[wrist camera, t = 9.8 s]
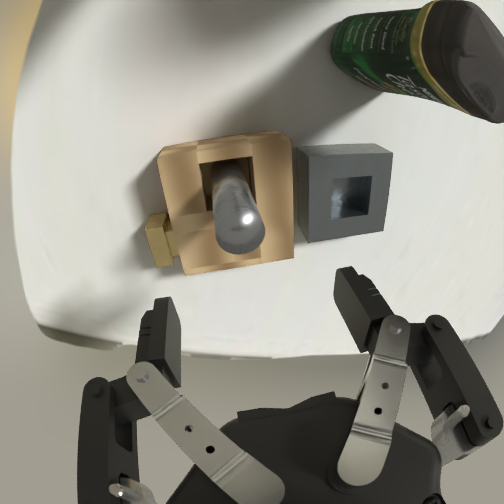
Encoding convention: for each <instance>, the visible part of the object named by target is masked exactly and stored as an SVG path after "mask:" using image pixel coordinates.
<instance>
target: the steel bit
mask: <svg viewBox="0 0 504 504" xmlns="http://www.w3.org/2000/svg"><path fill="white" fill-rule="evenodd" d="M210 177H211V190H212V202H213V213H214V225H215V235H216V241H217V243H218V245H219V246H220V247H221V248H222V249H223V250H224V251H226V252H228V253H231V254H236V255H241V254H247V253H249V252H252V251H253V250H255V249H256V248H258V247H259V246H260V244H261V243H262V242H263V240H264V237H265V226H264V223H263V221H262V218H261V216H260V213H259V211H258V208H257V206H256V203H255V201H254V198H253V196H252V193H251V191H250V189H249V186H248V184H247V181H246V179H245V177H244V174H243V172H242V169H241V167H240V165H239V163H238V162H237V161H236V160H235V159H234V158H233V159H226V160H219V161H214V162H213V164H212V165H211V168H210Z"/></svg>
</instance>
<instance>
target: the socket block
mask: <svg viewBox="0 0 504 504" xmlns="http://www.w3.org/2000/svg"><path fill="white" fill-rule="evenodd" d="M233 158H234V159H235V160H236V161H237V162H238V163H239V165H240V167H241V169H242V172H243V174H244V177H245V179H246V181H247V184H248V186H249V189H250V191H251V193H252V196H253V198H254V201H255V203H256V206H257V208H258V211H259V213H260V216H261V218H262V221H263V223H264V226H265V237H264V240H263V242H262V243H261V244H260V246H259V247H258V248H256V249H255V250H253V251H252V252H249V253H247V254H241V255H236V254H231V253H228V252H226V251H224V250H223V249H222V248H221V247H220V246H219V245H218V243H217V241H216V235H215V225H214V213H213V202H212V190H211V177H210V168H211V165H212V164H213V162H214V161H219V160H226V159H233ZM157 164H158V169H159V173H160V178H161V182H162V187H163V191H164V196H165V200H166V204H167V208H168V212H169V216H170V221H171V225H172V228H173V232H174V236H175V240H176V244H177V248H178V251H179V255H180V259H181V262H182V266H183V269H184V273H185V276H187V275H193V274H199V273H206V272H212V271H218V270H225V269H231V268H237V267H243V266H249V265H255V264H261V263H268V262H274V261H280V260H286V259H291V258H294V221H293V176H292V149H291V140H290V139H289V138H287V137H286V136H284V135H283V134H282V133H280V132H279V131H270V132H260V133H250V134H242V135H234V136H226V137H219V138H212V139H206V140H199V141H194V142H188V143H182V144H177V145H172V146H167V147H164V148H163V149H162V151H161V153H160V155H159V156H158V158H157Z"/></svg>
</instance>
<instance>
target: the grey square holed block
mask: <svg viewBox="0 0 504 504" xmlns="http://www.w3.org/2000/svg"><path fill="white" fill-rule="evenodd" d="M392 159H393V153H392V152H390V151H388V150H387V149H385V148H383V147H381V146H379V145H377V144H337V145H318V146H303V147H297V173H298V226H299V228H300V230H301V231H302V233H303V235H304V236H305V238H306V240H307V241H308V243H311V242H317V241H324V240H330V239H336V238H342V237H349V236H355V235H361V234H367V233H374V232H380V231H383V229H384V223H385V217H386V210H387V203H388V196H389V188H390V179H391V170H392Z"/></svg>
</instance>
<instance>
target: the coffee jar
mask: <svg viewBox="0 0 504 504" xmlns="http://www.w3.org/2000/svg"><path fill="white" fill-rule="evenodd" d="M331 55H332V58H333V60H334V62H335V64H336V65H337V66H338V67H339V68H340V69H341V70H343V71H344V72H346V73H347V74H348V75H350V76H351V77H353V78H355V79H356V80H358V81H360V82H361V83H363V84H365V85H367V86H369V87H371V88H373V89H376V90H378V91H382V92H388V93H395V94H403V95H409V96H414V97H419V98H423V99H428V100H432V101H435V102H439V103H442V104H445V105H447V106H450V107H453V108H455V109H457V110H460V111H462V112H464V113H467V114H469V115H471V116H474V117H478V118H481V119H484V120H487V121H489V122H492V123H504V37H503V35H502V34H501V33H500V31H499V30H498V29H497V27H496V26H495V25H494V23H493V22H492V21H491V20H490V18H489V17H488V16H487V15H486V14H485V13H484V12H483V11H482V9H481V8H479V7H478V6H477V5H476V4H474V3H472V2H469V1H464V0H435V1H431V2H429V3H427V4H426V5H424V6H423V7H422V8H418V9H410V10H397V11H387V12H377V13H365V14H359V15H353V16H349V17H347V18H345V19H344V20H343V21H342V22H341V23H340V24H339V26H338V28H337V30H336V32H335V34H334V36H333V39H332V43H331Z"/></svg>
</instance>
